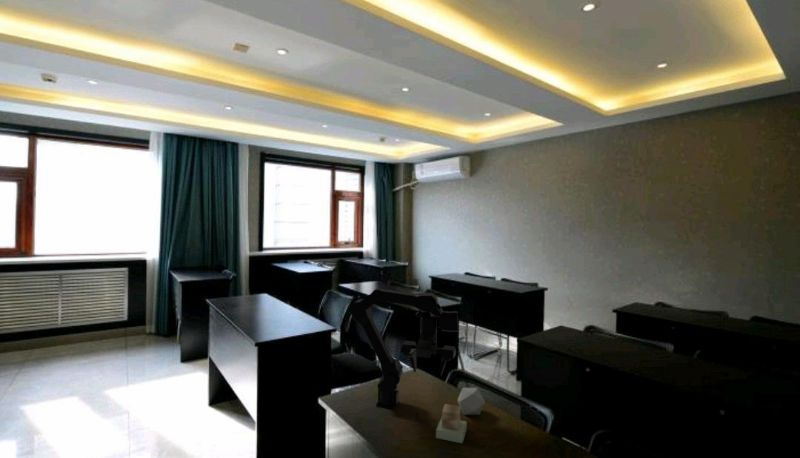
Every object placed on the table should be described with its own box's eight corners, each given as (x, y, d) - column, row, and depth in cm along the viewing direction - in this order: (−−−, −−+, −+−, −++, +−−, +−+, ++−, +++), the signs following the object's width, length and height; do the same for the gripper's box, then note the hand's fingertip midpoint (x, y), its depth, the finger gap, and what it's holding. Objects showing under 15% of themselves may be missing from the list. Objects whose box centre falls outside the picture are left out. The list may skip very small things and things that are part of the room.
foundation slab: (435, 439, 114) (436, 429, 114) (441, 426, 121) (441, 416, 121) (462, 444, 111) (462, 434, 111) (466, 430, 119) (466, 421, 119)
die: (478, 424, 123) (492, 396, 126) (454, 408, 124) (468, 380, 127) (472, 420, 131) (486, 394, 134) (450, 405, 132) (464, 380, 135)
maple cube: (441, 427, 115) (442, 411, 115) (444, 419, 119) (445, 403, 119) (458, 430, 113) (458, 413, 113) (460, 422, 118) (460, 406, 118)
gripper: (395, 332, 127) (395, 378, 127) (450, 339, 121) (449, 387, 121) (405, 324, 137) (404, 367, 138) (456, 330, 132) (455, 374, 132)
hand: (427, 373), depth 132 cm, fingers open, 9 cm apart
